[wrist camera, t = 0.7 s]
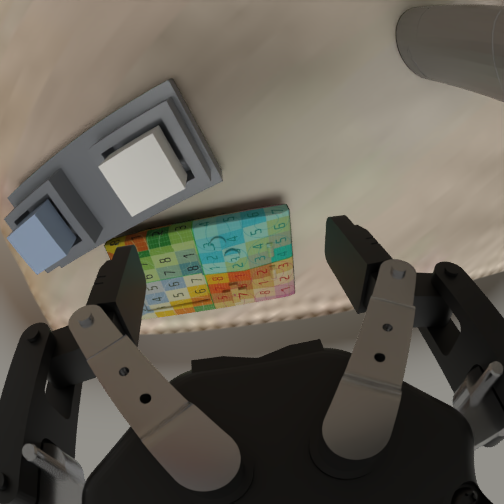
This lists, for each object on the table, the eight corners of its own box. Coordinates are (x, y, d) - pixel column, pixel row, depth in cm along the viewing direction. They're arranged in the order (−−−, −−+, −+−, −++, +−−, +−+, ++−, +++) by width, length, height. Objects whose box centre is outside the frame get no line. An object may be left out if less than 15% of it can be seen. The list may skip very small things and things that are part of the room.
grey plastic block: (172, 78, 25) (163, 81, 20) (221, 170, 31) (224, 194, 26) (19, 186, 28) (-6, 210, 23) (69, 253, 34) (53, 284, 29)
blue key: (47, 198, 24) (34, 214, 22) (76, 237, 27) (66, 255, 24) (19, 222, 25) (6, 238, 22) (47, 257, 28) (37, 274, 25)
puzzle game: (296, 298, 37) (139, 325, 37) (288, 274, 41) (144, 299, 40) (291, 213, 30) (101, 250, 30) (281, 194, 34) (112, 228, 34)
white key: (158, 124, 22) (152, 133, 20) (187, 174, 25) (185, 188, 23) (109, 154, 23) (98, 166, 21) (138, 200, 26) (132, 216, 23)
